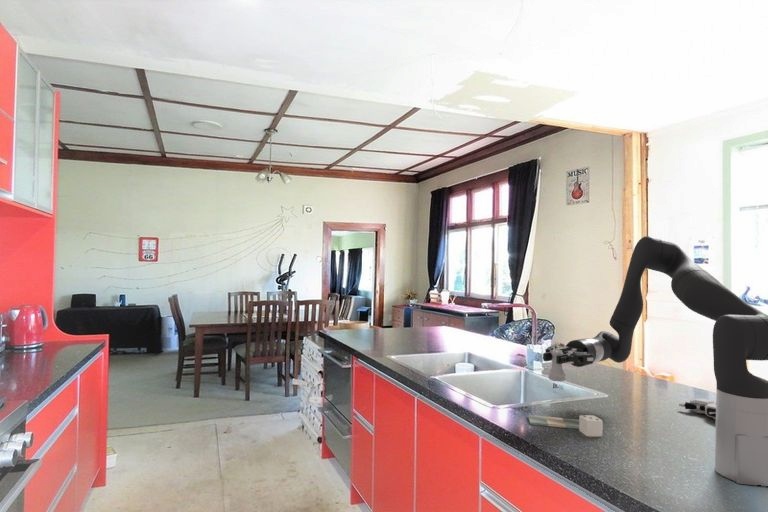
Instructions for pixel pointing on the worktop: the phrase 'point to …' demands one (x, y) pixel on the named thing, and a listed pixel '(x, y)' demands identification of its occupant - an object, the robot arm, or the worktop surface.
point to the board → (554, 422)
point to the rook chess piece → (556, 368)
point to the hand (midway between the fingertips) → (551, 358)
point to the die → (590, 425)
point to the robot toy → (701, 407)
